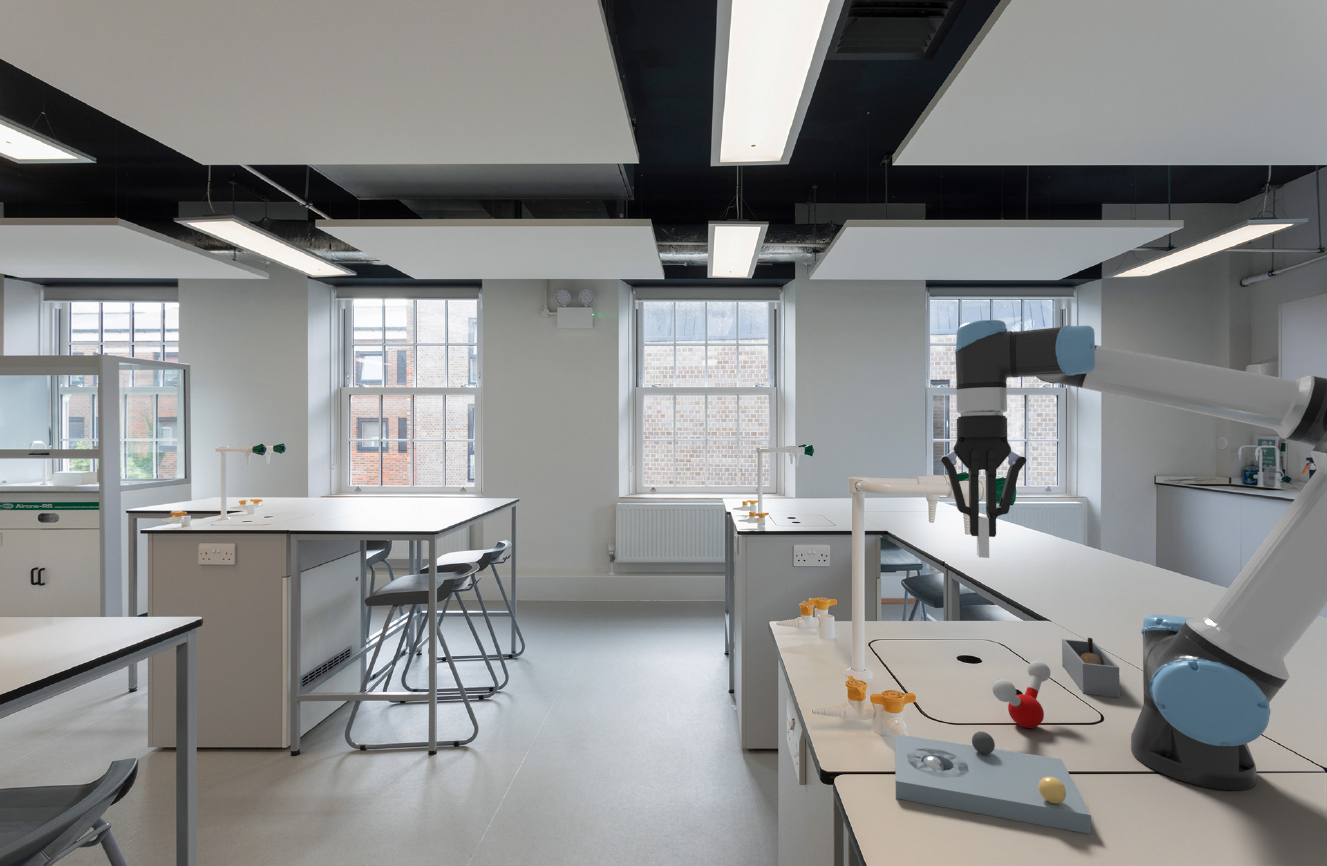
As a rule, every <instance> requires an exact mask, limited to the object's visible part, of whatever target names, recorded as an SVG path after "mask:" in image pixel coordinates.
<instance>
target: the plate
mask: <svg viewBox="0 0 1327 866" xmlns="http://www.w3.org/2000/svg"><path fill="white" fill-rule="evenodd" d="M894 744H895V745H894V746H895V747H894V748H895V749H894V750H895V751H894V752H895V753H894V754H895V755H894V758H895V763H894V764H895V799H897V800H902V801H910V802H915V803H919V804H925V805H931V806H937V807H941V808H942V807H943V808H947V809H952V810H957V811H964V812H967V813H975V814H978V815H979V814H980V815H985V816H991V817H994V818H1001V819H1007V820H1013V821H1018V822H1023V823H1027V824H1034V825H1039V826H1045V827H1051V828H1055V829H1061V830H1066V831H1072V832H1076V833H1077V832H1078V833H1083V834H1088V835H1092V815H1091V813H1090V811H1089V809H1088V807H1087V805H1086V803H1085V802H1084V800H1083V798H1082V796H1081V794H1080V791H1079V789H1078V788H1077V786H1076V784H1075V782H1074V781H1073V778H1072V776H1071V775H1070V773H1069V771H1068V769H1067V767H1066V765H1065V763H1064V761H1063V759H1062V758H1057V757H1051V756H1045V755H1036V754H1031V753H1023V752H1019V751H1012V750H1011V751H1010V750H1004V749H997V748H994V750H993V751H992V752H991V753H990V754H982V753H979V752H978V751H977V750H976V749H975V748H974V746H973V744H972V745H970V744H964V743H958V742H957V743H956V742H952V741H951V742H950V741H944V740H939V739H938V740H937V739H932V738H925V737H924V738H923V737H917V736H910V735H905V734H899V733H894ZM928 756H934V757H937V758H938V759H939V760H940V761H941V762H942V763H943V765H944V771H941V770H935V769H932V768H930V767H927V766H926V765H924V764H923V763H922V761H923V760H924V758H926V757H928ZM1044 777H1054V778H1056V779H1058V780H1059V781H1060V782H1061V783H1062V784H1063V785H1064V787H1065V789H1066V798H1065V800H1064V801H1063V802H1061V803H1059V804H1054V803H1050V802H1048V801H1047V800H1045V799H1044V798H1043V797H1042V795H1041V794H1040V791H1039V782H1040V780H1041V779H1042V778H1044Z"/></svg>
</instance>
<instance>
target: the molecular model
mask: <svg viewBox="0 0 1327 866" xmlns="http://www.w3.org/2000/svg"><path fill="white" fill-rule="evenodd" d="M1027 666H1028V667H1027V673H1028V675H1029V676H1030V679H1029V680H1028V684H1027V687H1026V689H1025V694H1024V693H1023V694H1022V693H1021V694H1020V693H1019V694H1017V689H1016V686H1015V685H1014V683H1012V682H1011V681H1009V680H1008V679H1004V678H1002V679H998V680H997V679H996V681H995V682H994V683H993V685H992V688H991V689H992V693H993V695H994V697H995V698H996V699H997V700H998V701H1000V702H1003V703H1008V705H1007V706H1008V707H1007V710H1008V714H1009V716H1010V718H1011V719H1012V720H1013V722H1015V724H1016V725H1019V726H1020V727H1022V728H1025V729H1033V728H1036V727H1039V726H1040V725H1041V724H1042V722H1043V720H1044V718H1045V716H1044V715H1045V713H1044V708H1043V707H1042V704H1041V703H1040V702H1039V701H1038V700H1037V698H1038V695H1039V692H1040V689H1041V685H1042V684H1043V682H1045V681H1048V680H1049V679H1050V678H1051V669H1050V666H1048V665H1047V664H1046V663H1045V662H1043V661H1041V660H1033V661H1031V662H1029V664H1028V665H1027Z"/></svg>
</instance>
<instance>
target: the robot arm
mask: <svg viewBox="0 0 1327 866" xmlns="http://www.w3.org/2000/svg"><path fill="white" fill-rule="evenodd" d="M1095 341H1096V340H1095V329H1094V328H1093V327H1092V326H1091V325H1070V324H1068V325H1064V326H1059V327H1058V326H1057V327H1048V328H1039V329H1030V330H1029V329H1028V330H1020V331H1019V330H1018V331H1012V330H1008V328H1007V324H1006V323H1005V321H1003V320H999V319H988V320H986V319H985V320H984V319H983V320H982V319H981V320H974V321H969V322H965V323H963V324H961V325H960V326H959V327H958V328H957V330H956V340H955V342H956V344H955V350H954V354H955V374H956V379H955V381H956V383H955V385H956V386H955V387H956V412H957V413H958V414H960V416H958V417H957V418H956V442H955V444H954V446H953V450H952V451H950V452H949V453H948V454H946V455H942V456H941V457H940V459H939V460H940V462H941V463H942V465H943V467H944V468H945V469H946V473H947V475H948V480H949V483H950V485H951V486H950V487H951V490H952V493H953V497H954V501H955V504H956V508H957V510H958V512H960V513H961V514H965V515H967V516H968V517H969V519H968V520H969V534H970V535H971V537H976V555H977V556H978V557H979V558H985V559H987V558H988V559H990V538H995V537H996V536H997V518H998V517H1000V516H1003V515H1008V513H1009V512H1010V507H1011V503H1012V501H1013V496H1014V493H1015V490H1016V486H1017V485H1016V484H1017V481H1018V478H1019V475H1020V471H1021V469H1022V468H1023V466H1025V464H1026V463H1027V457H1025V456H1021V455H1019V454H1017V453H1016V452H1014V451H1013V450H1012V447H1011V445H1010V443H1009V441H1008V417H1006V415H1004V413H1006V412H1007V411H1008V400H1007V399H1008V393H1007V392H1008V391H1007V390H1008V389H1007V388H1008V386H1007V379H1008V378H1029V377H1030V378H1031V377H1036V378H1037V379H1038V380H1040V381H1042V382H1045V383H1047V384H1048V383H1049V384H1061V385H1064V386H1071V387H1074V388H1081V389H1085V390H1090V391H1095V392H1098V393H1099V392H1100V393H1104V394H1107V395H1108V394H1109V395H1113V396H1118V397H1123V398H1128V399H1132V400H1137V401H1142V402H1146V403H1151V404H1155V405H1160V406H1164V407H1170V408H1174V409H1178V410H1184V411H1188V412H1193V413H1198V414H1201V415H1202V414H1203V415H1207V416H1212V417H1215V418H1220V419H1225V420H1230V421H1234V422H1240V423H1245V424H1248V425H1254V426H1258V427H1263V428H1267V429H1271V430H1274V431H1275V432H1276V433H1277V434H1278V436H1279V438H1281V439H1284V440H1289V441H1293V442H1294V441H1295V442H1299V443H1302V444H1306V445H1309V446H1312V447H1313V446H1314V447H1313V448H1312V450H1311V451H1310V453H1309V454H1310V456H1311V458H1312V461H1313V463H1314V465H1315V472H1314V473H1313V475H1311V477H1310V478H1309V480H1308V481H1307V482H1306V484H1305V485H1304V487H1303V488H1302V489H1301V491H1300V492H1299V493H1298V495H1297V496H1296V497H1295V498H1294V500H1293V501H1292V502H1291V504H1290V505H1289V506H1288V508H1287V509H1286V510H1285V512H1284V513H1283V514H1282V515H1281V517H1280V519H1279V520H1278V521H1277V522H1276V524H1275V525H1274V526H1273V528H1272V529H1271V531H1270V532H1269V533H1268V535H1267V536H1266V537H1265V539H1264V540H1263V541H1262V543H1261V544H1260V545H1259V547H1257V549H1256V550H1255V552H1254V553H1253V554H1252V556H1251V557H1250V558H1249V560H1248V562H1246V564H1245V565H1244V567H1243V568H1242V569H1241V571H1240V572H1239V573H1238V575H1237V576H1236V577H1235V579H1234V580H1233V581H1232V583H1231V584H1230V585H1229V587H1228V588H1227V589H1226V590H1225V592H1224V593H1223V595H1222V596H1221V597H1220V599H1219V600H1218V601H1217V603H1216V604H1215V605H1214V607H1213V608H1212V609H1211V611H1210V612H1209V613H1208V615H1207V616H1204V617H1197V618H1196V617H1187V616H1179V615H1170V614H1168V615H1167V614H1149V615H1146V616H1144V618H1143V621H1142V628H1141V632H1140V633H1141V635H1142V670H1143V671H1142V674H1143V675H1142V677H1143V680H1142V681H1143V684H1142V686H1143V705H1142V708H1141V711H1140V713H1139V715H1138V718H1137V720H1136V723H1135V725H1134V727H1133V730H1132V732H1131V734H1130V750H1131V753H1132V755H1133V756H1134V758H1136V759H1137V760H1138V761H1139V762H1141V763H1142V764H1144V765H1145V766H1147V767H1149V768H1151V770H1154V771H1156V772H1158V773H1161V774H1163V775H1165V776H1167V777H1170V778H1173V779H1176V780H1179V781H1181V782H1184V783H1188V784H1192V785H1196V786H1199V787H1205V788H1209V789H1216V790H1224V791H1243V790H1248V789H1251V788H1253V787H1254V786H1256V784H1257V766H1256V763H1255V760H1254V757H1253V755H1252V753H1251V750H1250V747H1249V745H1248V744H1249V743H1251V742H1253V741H1255V740H1256V739H1258V738H1259V737H1261V736H1262V734H1263V733H1265V731H1266V729H1267V727H1268V725H1269V722H1270V717H1271V708H1270V703H1271V701H1272V699H1274V698H1275V696H1276V695H1277V694H1278V693H1279V691H1280V690H1281V689H1282V687H1283V686H1284V685H1285V684H1286V683H1287V682H1288V681H1289V678H1290V677H1291V676H1290V674H1289V670H1288V669H1287V666H1286V663H1285V658H1286V656H1288V654H1289V652H1290V651H1291V650H1292V649H1294V648H1293V647H1294V646H1296V644H1297V642H1298V641H1299V640H1300V639H1301V638H1302V637H1303V636H1304V634H1305V633H1306V631H1308V629H1309V628H1310V626H1311V625H1313V623H1314V622H1315V620H1316V619H1317V618H1318V616H1319V615H1320V614H1321V613H1322V612H1323V610H1324V609H1325V608H1326V607H1327V377H1320V376H1316V375H1315V376H1314V375H1306V376H1304V377H1300V378H1298V379H1289V378H1283V377H1278V376H1273V375H1272V376H1271V375H1267V374H1262V373H1255V372H1249V371H1244V370H1238V369H1233V368H1227V367H1222V366H1221V367H1220V366H1216V365H1210V364H1205V363H1199V362H1194V361H1188V360H1182V359H1177V358H1172V357H1167V356H1159V355H1154V354H1149V353H1142V352H1137V351H1131V350H1126V349H1120V348H1115V347H1109V346H1104V345H1103V346H1102V345H1098V344H1097V345H1096V343H1095ZM957 458H958V459H959V460H960V461H961V463H962V464H963V466H965V468H966V469H968V471H967V472H968V506H967V504H966V501H965V497H964V494H963V490H962V486H961V482H960V479H959V475H958V472H957V469H956V465H957V463H958V462H957ZM1007 458H1008V460H1007V464H1008V465H1009V467H1008V470H1007V473H1006V477H1005V481H1004V483H1003V484H1004V485H1003V487H1002V491H1001V497H1000V499H999V504H998V506H997V469H999V467H1000V466H1001V465H1002V464H1003V463H1004V461H1005V460H1006V459H1007ZM982 470H984V474H985V514H986V515H980V502H979V501H980V498H979V497H980V495H979V494H980V493H979V492H980V491H979V489H980V488H979V487H980V485H979V481H980V479H979V478H980V477H979V476H980V471H982Z"/></svg>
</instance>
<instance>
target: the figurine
mask: <svg viewBox="0 0 1327 866" xmlns="http://www.w3.org/2000/svg"><path fill="white" fill-rule="evenodd" d="M1087 641H1088V646H1089V653H1084V654H1082V655H1081V656H1080V658H1081V659H1082V660H1083V661H1084V663H1088V664H1098V665H1103V661H1102V659H1101V658H1100V657H1099V656H1097V655H1095V654H1092V644H1093V642H1094V640H1093V638H1092V637H1087ZM1078 689H1079V690H1080V687H1078Z"/></svg>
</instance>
